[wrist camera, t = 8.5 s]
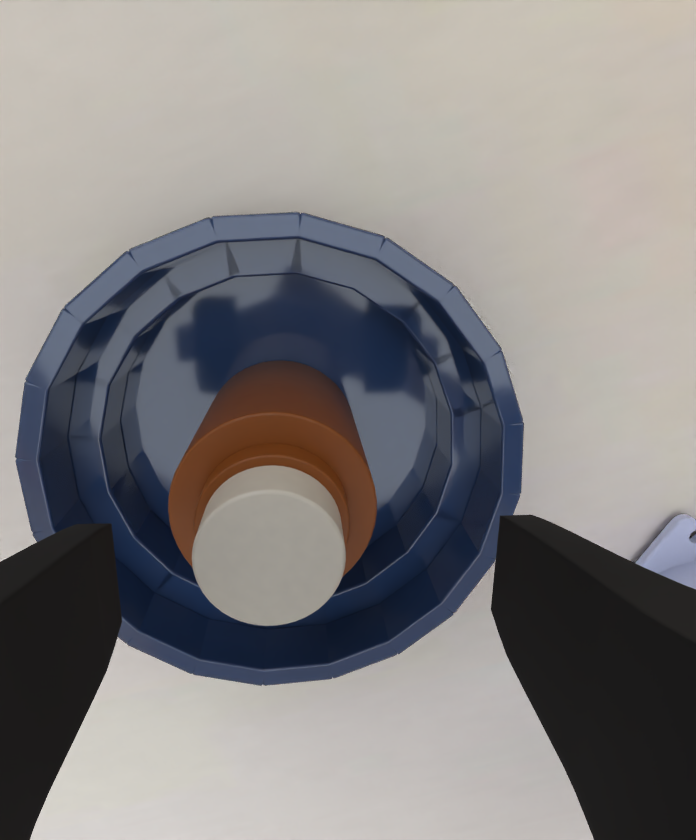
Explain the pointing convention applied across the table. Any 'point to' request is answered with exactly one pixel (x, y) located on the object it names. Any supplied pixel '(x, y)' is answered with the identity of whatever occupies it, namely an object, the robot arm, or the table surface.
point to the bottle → (273, 495)
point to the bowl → (230, 354)
